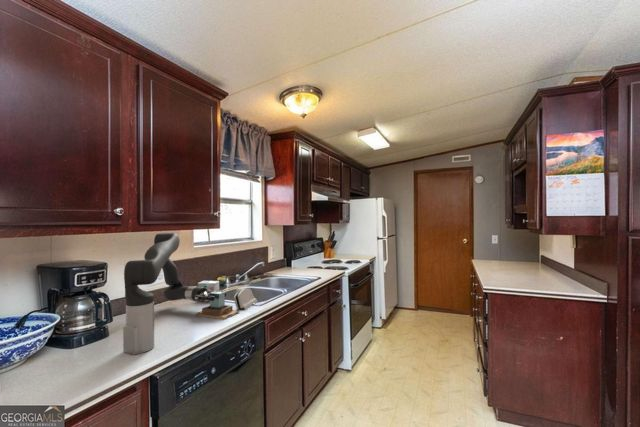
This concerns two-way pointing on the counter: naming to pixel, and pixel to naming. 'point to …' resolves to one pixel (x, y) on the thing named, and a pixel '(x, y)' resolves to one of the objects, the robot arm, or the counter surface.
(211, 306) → the grey-green block
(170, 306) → the counter surface
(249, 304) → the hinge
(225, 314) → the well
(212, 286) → the light bulb box
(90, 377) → the counter surface
